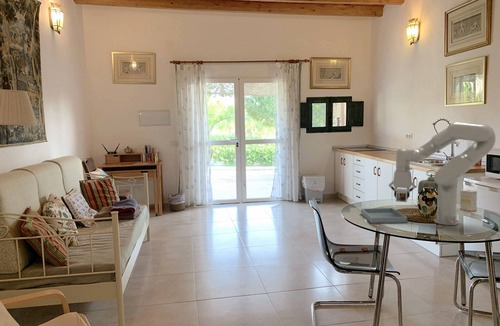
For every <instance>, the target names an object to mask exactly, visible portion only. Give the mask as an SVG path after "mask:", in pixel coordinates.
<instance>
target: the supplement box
mask: <svg viewBox="0 0 500 326" xmlns="http://www.w3.org/2000/svg"><path fill="white" fill-rule="evenodd" d="M459 193H460V195H459V197H460V199H459V205H460V206H459V209H460V210H462V211H467V212H472V213H473V212H477V209H478V208H477V207H478V206H477V205H478V203H477V201H478V195H477V194H478V191H477V190H471V189H466V188H465V189H460V192H459Z"/></svg>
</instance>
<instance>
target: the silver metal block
mask: <svg viewBox="0 0 500 326" xmlns="http://www.w3.org/2000/svg"><path fill="white" fill-rule="evenodd" d="M407 191H408V190H407V188H400V187H397V189H396V198H395V202H398V203H407V202H408V199H407ZM400 193H406V197H405V198H401V197H400Z"/></svg>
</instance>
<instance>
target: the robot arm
mask: <svg viewBox="0 0 500 326" xmlns="http://www.w3.org/2000/svg"><path fill="white" fill-rule="evenodd" d="M458 140H463V141H472V142H474V143H472V144H471V145H469V147H467V148H466V149H465V150H464V151H462V152H461V153H460V154H458V155H455V156H454V157H452V158H450V160H448V161H447V162H446V163H445V164H443V165H442V166H441V167H440V168H439V169H438V170H437V171H436V172H435V173H434V174H433V175H434V176H433V177H434V181H435V182H436V184H438V195H437V205H436V206H437V208H436V209H437V210H436V211H437V213H436V216H437V217H436V218H434V219H433V222H434V223H436V224H439V225H444V226H456V225H459V224H460V220H458V219H457V195H458V194H457V193H458V192H457V191H458V181H459V178H460V177H461V176H463V175H464V174H465V173H467V172H468V171H469V170H471V169H472V168H473V166H475V165H476V164H477V163H479V161H481V160H482V159H483V158H484V157H486V156H487V155H488V154H489V153H490V152H491V151H492V149H493V148H494V146H495V144H496V134H495V130H494V128H492V127H491V126H489V125H488V124H474V123H466V122H465V123H463V122H460V121H458V122H457V121H456V122H451V123H450V124H449V125H448V126H447V127H446V128H445V129H443V130H442V131H439V132H438V133H436V134H434V135H433V136H432V137H431V139H430V140H429V141H428V142H426V143H424V144H423V145H421V146H419V147H418V148H414V149H408V148H397V150H396V159H395V160H396V162H395V170H394V173H393V179H392V180H391V182H390V183H389V184H388V187H389V188H390V189H391V190H392V191H393V197H394V198H395V199H396V191H397V188H400V189H407V190H408V191H407V200H408V199H409V198H410V194H411V192H412V191H413V190H414V189H416V188H417V186H416V184H415V183H413V182H412V172H411V171H412V170H413V167H411V162H413V163H417V162H420V161H421V162H422V161H424V160H426V159H427V158H428V157H431V156H432V155H434V154H436V153H438V152H439V151H441V150H443V149H444V148H446V147H447V146H449V145H451V144H453V143H454V142H456V141H458Z"/></svg>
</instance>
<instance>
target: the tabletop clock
mask: <svg viewBox="0 0 500 326" xmlns="http://www.w3.org/2000/svg"><path fill="white" fill-rule="evenodd" d="M429 172H435V173H436V172H437V171H436V170H435V169H434V170H433V169H430V170H427V171H426V176H428V177H427V179H422V180H420V181H418V185H417V195H418V194H419V192H420V191H422V190H423V187H433V188H435V189H436V191H437V192H438V184H436V182H435V181H434V175H435V174H432V173H431V174H428V173H429Z"/></svg>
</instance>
